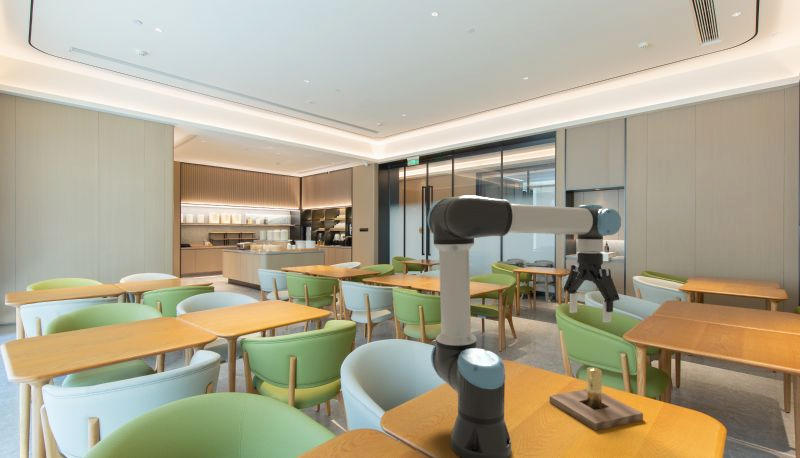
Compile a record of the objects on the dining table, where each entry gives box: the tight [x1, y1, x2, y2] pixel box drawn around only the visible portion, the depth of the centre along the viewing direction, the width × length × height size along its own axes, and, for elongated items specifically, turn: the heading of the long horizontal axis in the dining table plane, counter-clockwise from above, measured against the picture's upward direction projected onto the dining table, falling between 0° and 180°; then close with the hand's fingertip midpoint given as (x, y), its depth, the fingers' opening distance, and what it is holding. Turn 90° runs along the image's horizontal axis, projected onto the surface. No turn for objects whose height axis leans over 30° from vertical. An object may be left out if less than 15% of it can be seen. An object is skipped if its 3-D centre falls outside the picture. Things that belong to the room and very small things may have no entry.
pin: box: [586, 366, 603, 410], centre depth 116 cm, size 4×4×12 cm
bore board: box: [549, 388, 644, 431], centre depth 116 cm, size 18×18×2 cm
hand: (589, 317), depth 125 cm, fingers open, 13 cm apart
